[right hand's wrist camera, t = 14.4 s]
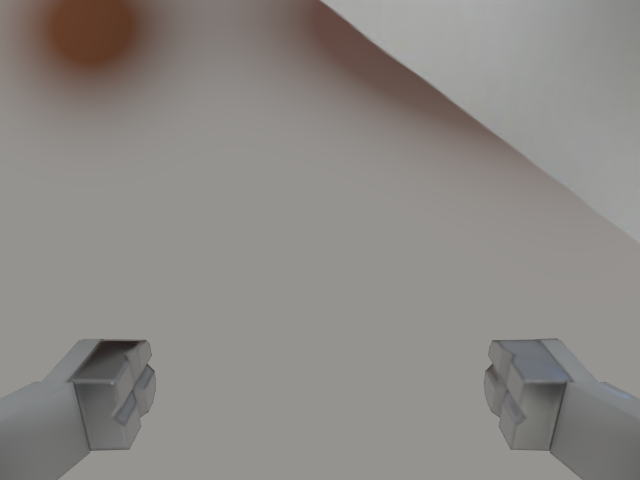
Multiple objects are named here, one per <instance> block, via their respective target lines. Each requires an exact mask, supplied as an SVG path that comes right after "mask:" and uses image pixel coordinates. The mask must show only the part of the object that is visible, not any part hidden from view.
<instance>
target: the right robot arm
mask: <svg viewBox="0 0 640 480" xmlns="http://www.w3.org/2000/svg"><path fill="white" fill-rule="evenodd" d="M151 356H152V353H151V348H150V344H149V342H148V341H147V340H132V339H83V340H79V341H78V342H77V343H76V344H75V345H74V346H73V347H72V349H71V350H70V351H69V352H68V353H67V354H66V355H65V356H64V358H63V359H62V360H61V361H60V362H59V363H58V364H57V365H56V366H55V367H54V369H53V370H52V371H51V372H50V373H49V374H48V375H47V376H46V377H45V379H44V380H43V381H42V382H34V383H31V384H29V385H27V386H25V387H23V388H21V389H19V390H17V391H15V392H13V393H11V394H9V395H7V396H5V397H3V398H1V399H0V480H58V479H59V478H60V477H61V476H63V475H64V474H65V473H66V472H68V471H69V470H70V469H71V468H72V467H73V466H75V465H76V464H77V463H78V462H80V461H81V460H82V459H83V458H84V457H86V456H87V455H88V454H89V453H90V451H96V450H129V449H130V447H131V445H132V444H133V442H134V440H135V438H136V436H137V434H138V432H139V430H140V428H141V422H140V417H142V416H143V415H145V414H146V413H147V412H149V410H150V408H151V405H152V403H153V400H154V395H155V391H156V378H155V371H154V370H153V369H152V368H151V367H150V366H149V365H148V364H147V363H148V361H149V359H150V358H151ZM488 356H489V358H490V359H491V361H492V363H493V364H492V365H491V366H490V367H489V368H488V369H487V370H486V371H485V379H484V389H485V396H486V400H487V403H488V405H489V408H490V410H491V411H492V412H493V413H494V414H496V415H497V416H499V417H500V422H499V428H500V430H501V432H502V434H503V436H504V437H505V439H506V442H507V443H508V445H509V447H510V449H511V450H543V451H550V453H551V454H552V455H553V456H555V457H556V458H557V459H558V460H559V461H561V462H562V463H563V464H564V465H565V466H567V467H568V468H569V469H570V470H571V471H573V472H574V473H575V474H576V475H578V476H579V477H580V478H581V479H582V480H640V399H639V398H637V397H635V396H633V395H631V394H629V393H627V392H625V391H623V390H621V389H619V388H617V387H615V386H613V385H611V384H609V383H606V382H598V381H597V380H596V379H595V378H594V376H593V375H592V374H591V373H590V372H589V371H588V370H587V369H586V367H585V366H584V365H583V364H582V363H581V362H580V361H579V360H578V359H577V357H576V356H575V355H574V354H573V353H572V352H571V351H570V350H569V349H568V347H567V346H566V345H565V344H564V343H563V342H562V341H561V340H559V339H535V340H493V341H492V342H491V345H490V347H489V353H488Z"/></svg>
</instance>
